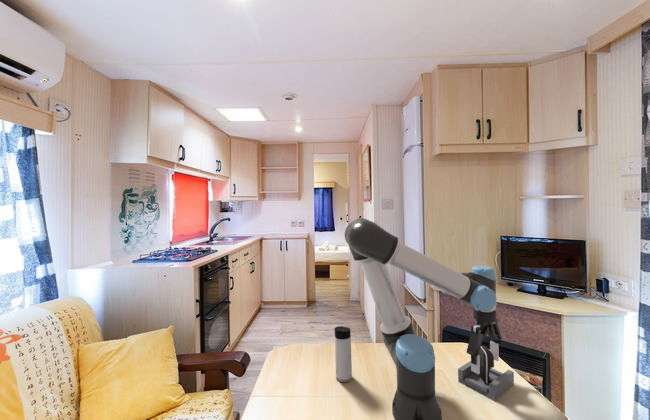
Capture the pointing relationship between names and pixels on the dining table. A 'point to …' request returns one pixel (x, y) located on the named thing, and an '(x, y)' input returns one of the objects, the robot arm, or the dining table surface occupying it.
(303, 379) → the dining table surface
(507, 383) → the cradle
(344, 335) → the travel mug
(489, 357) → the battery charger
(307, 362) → the dining table surface
